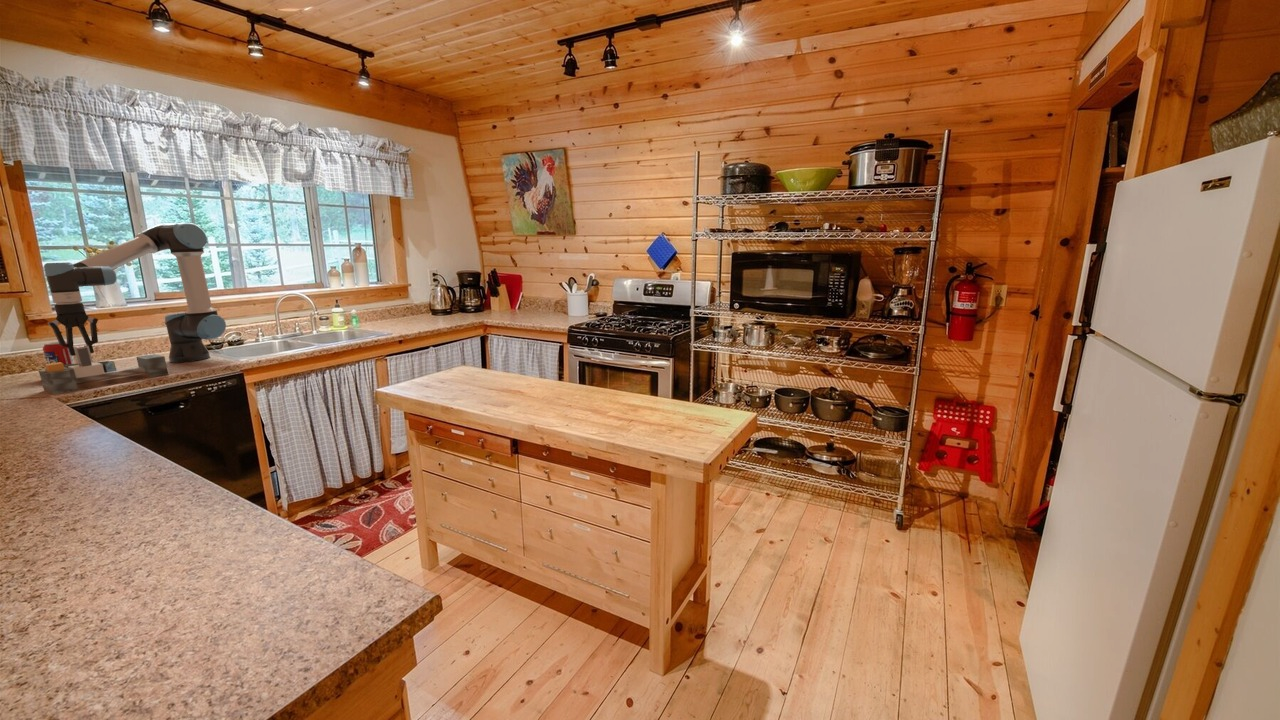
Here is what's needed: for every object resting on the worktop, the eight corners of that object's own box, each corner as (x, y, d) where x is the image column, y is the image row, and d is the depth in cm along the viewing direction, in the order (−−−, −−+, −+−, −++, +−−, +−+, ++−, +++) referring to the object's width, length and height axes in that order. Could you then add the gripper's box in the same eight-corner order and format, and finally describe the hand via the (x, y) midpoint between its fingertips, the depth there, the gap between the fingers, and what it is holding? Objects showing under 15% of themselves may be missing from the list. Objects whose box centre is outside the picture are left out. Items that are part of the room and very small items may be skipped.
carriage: (99, 371, 207) (92, 345, 204) (104, 373, 203) (97, 346, 201) (70, 376, 200) (63, 349, 198) (76, 378, 197) (68, 350, 194)
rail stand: (158, 371, 224) (154, 354, 222) (168, 374, 219) (164, 356, 217) (44, 391, 196) (38, 370, 194) (52, 394, 190) (46, 373, 188)
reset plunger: (63, 373, 197) (60, 362, 196) (66, 374, 195) (63, 363, 194) (47, 375, 194) (44, 364, 193) (50, 376, 192) (47, 365, 191)
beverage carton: (109, 377, 216) (104, 362, 214) (46, 383, 208) (42, 368, 207) (118, 373, 223) (114, 359, 222) (58, 379, 215) (54, 364, 214)
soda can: (81, 375, 221) (72, 341, 217) (55, 379, 214) (45, 344, 210) (73, 373, 224) (64, 340, 221) (47, 378, 217) (38, 343, 214)
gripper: (40, 305, 187) (58, 367, 192) (100, 301, 200) (114, 359, 205) (35, 305, 191) (52, 365, 196) (93, 300, 204) (108, 357, 209)
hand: (84, 362), depth 200 cm, fingers closed on carriage, 2 cm apart
